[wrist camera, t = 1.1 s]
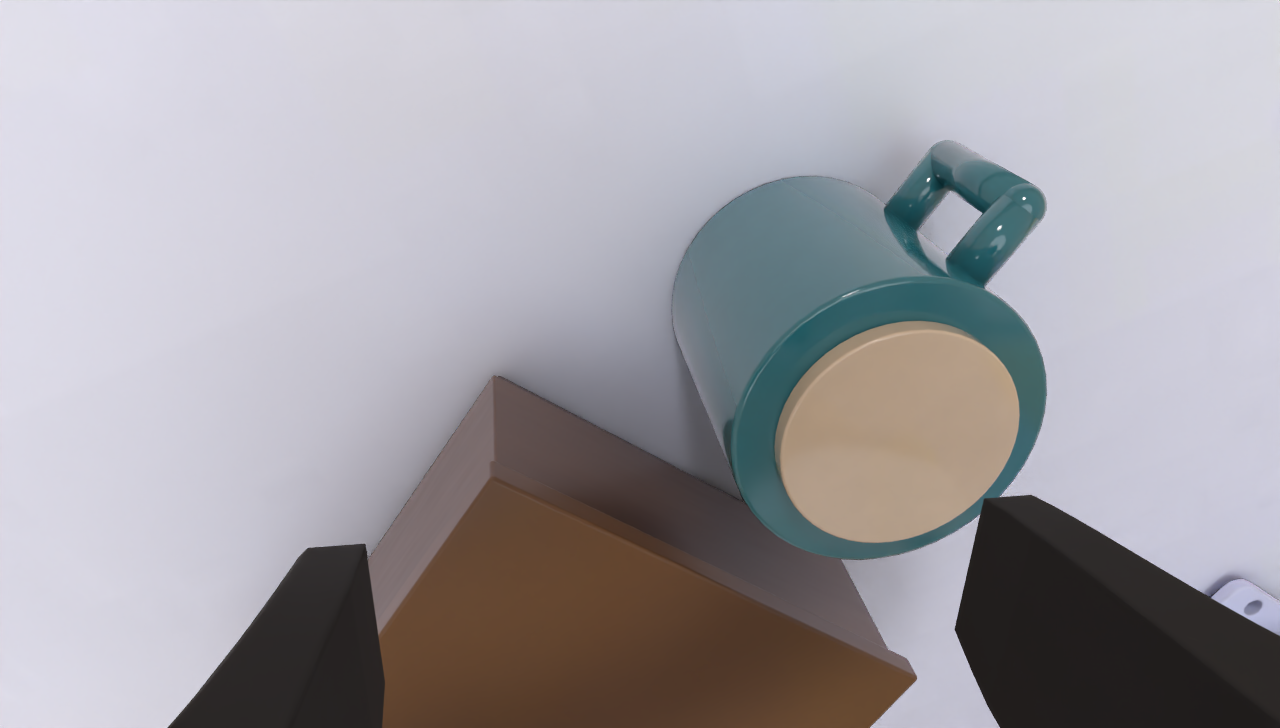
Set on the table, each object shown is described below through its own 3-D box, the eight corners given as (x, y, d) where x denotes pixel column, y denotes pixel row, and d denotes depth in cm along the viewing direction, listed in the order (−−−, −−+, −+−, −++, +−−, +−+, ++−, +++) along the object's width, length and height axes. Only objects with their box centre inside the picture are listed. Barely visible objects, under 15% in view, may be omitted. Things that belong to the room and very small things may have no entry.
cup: (1016, 194, 20) (1206, 308, 15) (809, 442, 22) (910, 618, 17) (829, 49, 18) (970, 118, 13) (621, 336, 20) (669, 497, 15)
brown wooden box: (847, 533, 24) (929, 683, 19) (623, 785, 27) (651, 965, 22) (490, 344, 20) (491, 477, 15) (276, 662, 23) (227, 850, 18)
